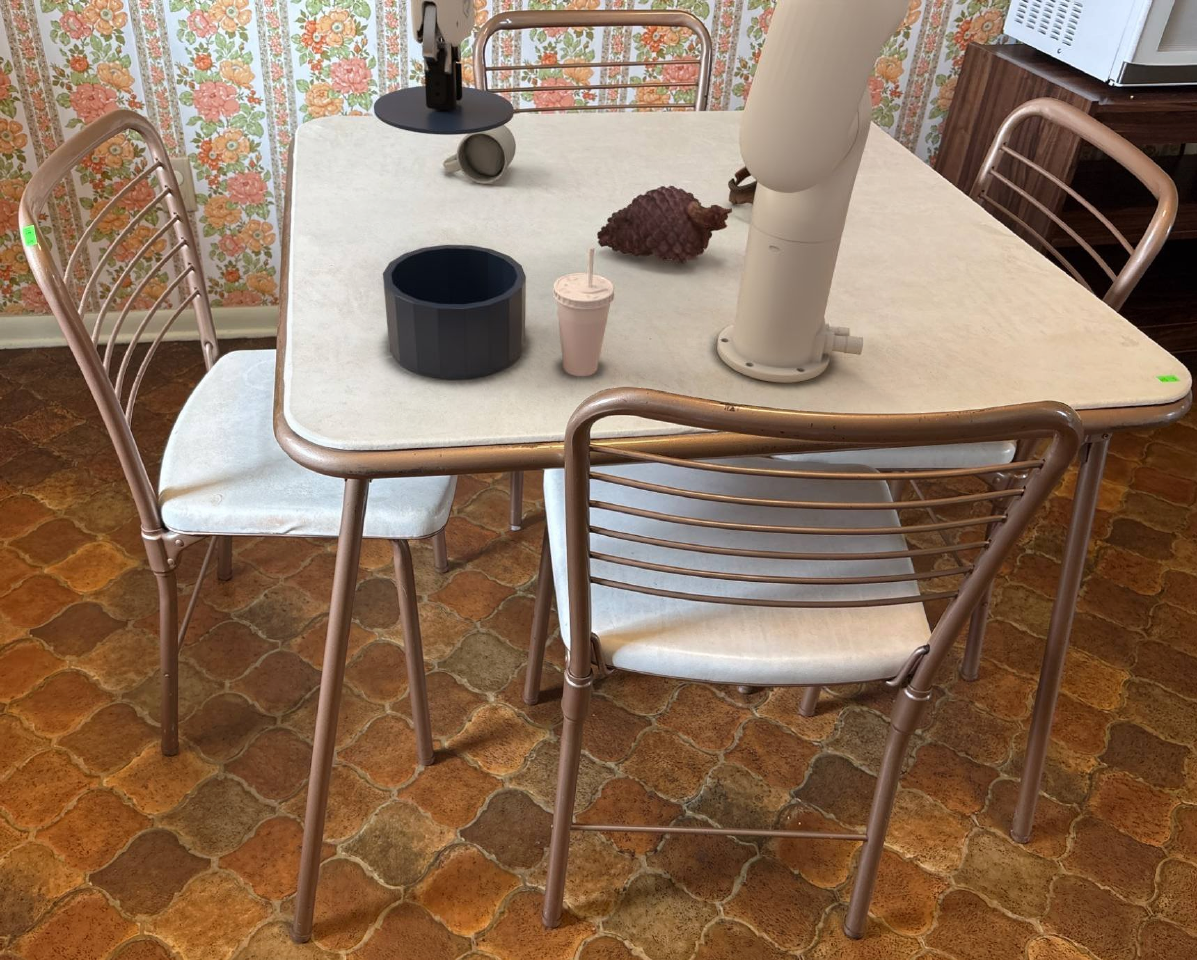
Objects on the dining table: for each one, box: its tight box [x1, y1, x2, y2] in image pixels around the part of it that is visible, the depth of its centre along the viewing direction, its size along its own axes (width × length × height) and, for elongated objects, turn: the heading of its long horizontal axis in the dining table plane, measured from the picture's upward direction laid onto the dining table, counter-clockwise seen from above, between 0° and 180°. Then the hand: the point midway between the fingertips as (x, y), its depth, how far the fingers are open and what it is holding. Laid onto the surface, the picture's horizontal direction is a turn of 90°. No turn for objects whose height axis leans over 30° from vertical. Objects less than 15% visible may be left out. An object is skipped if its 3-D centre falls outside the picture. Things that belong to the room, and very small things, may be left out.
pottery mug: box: [727, 165, 757, 206], centre depth 143 cm, size 12×10×8 cm
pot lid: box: [373, 59, 515, 136], centre depth 111 cm, size 16×16×6 cm
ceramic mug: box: [442, 124, 517, 185], centre depth 147 cm, size 11×8×8 cm
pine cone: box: [596, 185, 733, 264], centre depth 128 cm, size 18×10×10 cm
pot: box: [382, 244, 527, 381], centre depth 107 cm, size 15×15×8 cm
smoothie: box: [552, 246, 616, 377], centre depth 103 cm, size 6×6×14 cm
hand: (444, 102), depth 112 cm, fingers closed on pot lid, 2 cm apart
